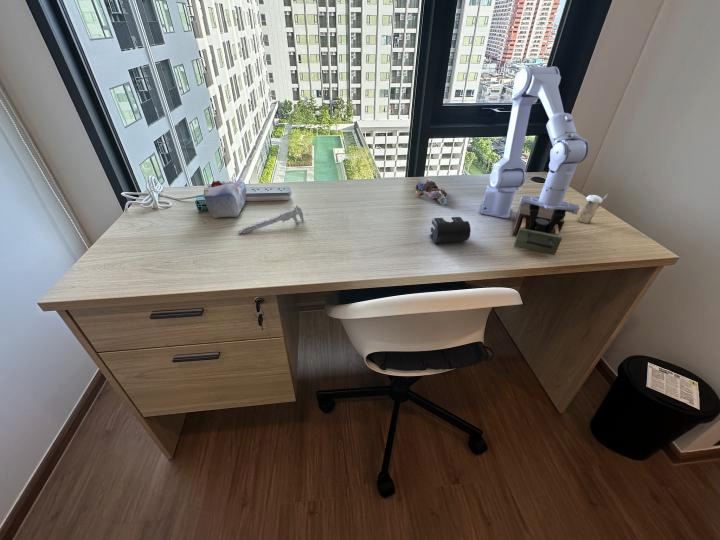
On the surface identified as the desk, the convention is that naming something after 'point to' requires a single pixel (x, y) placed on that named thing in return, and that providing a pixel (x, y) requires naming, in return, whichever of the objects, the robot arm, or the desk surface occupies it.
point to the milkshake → (590, 208)
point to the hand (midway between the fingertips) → (538, 230)
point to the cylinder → (541, 225)
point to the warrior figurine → (431, 191)
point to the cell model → (225, 198)
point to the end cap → (450, 230)
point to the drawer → (537, 238)
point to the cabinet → (543, 214)
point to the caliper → (275, 219)
